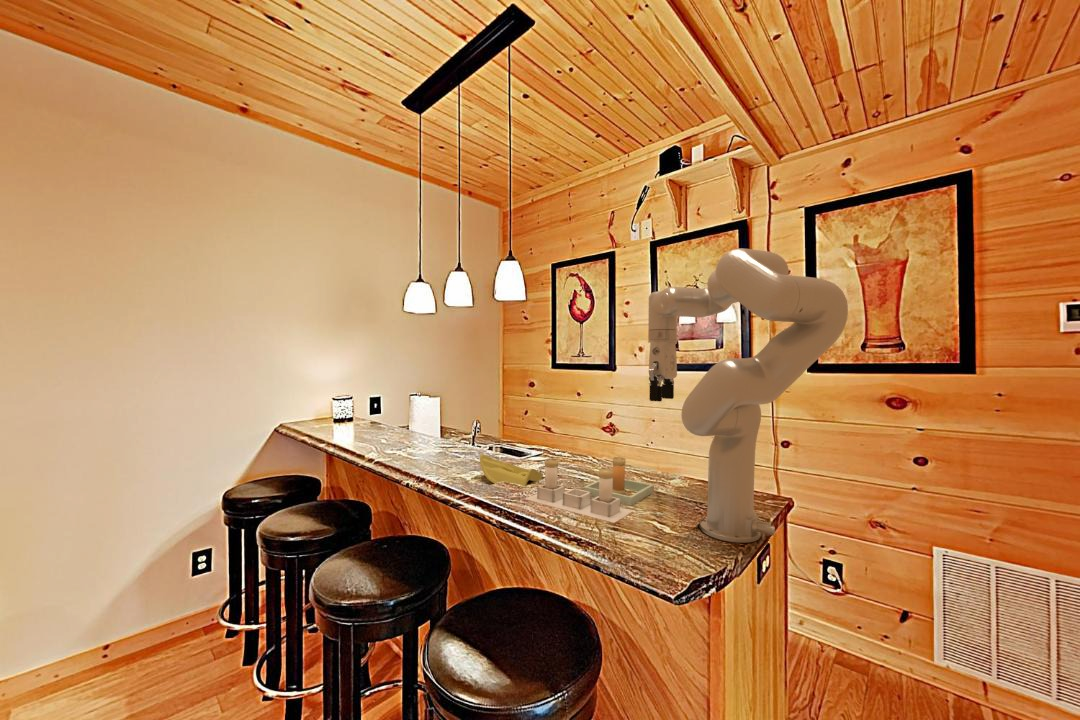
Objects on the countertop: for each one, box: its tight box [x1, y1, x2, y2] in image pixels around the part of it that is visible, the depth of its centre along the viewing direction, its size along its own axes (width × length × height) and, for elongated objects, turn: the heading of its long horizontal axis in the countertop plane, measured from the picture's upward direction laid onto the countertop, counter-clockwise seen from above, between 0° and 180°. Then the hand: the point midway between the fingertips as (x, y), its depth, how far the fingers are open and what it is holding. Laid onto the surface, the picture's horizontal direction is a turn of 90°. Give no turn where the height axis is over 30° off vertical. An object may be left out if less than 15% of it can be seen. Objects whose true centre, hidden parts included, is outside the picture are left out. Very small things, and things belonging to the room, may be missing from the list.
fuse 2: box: [598, 468, 613, 503], centre depth 111 cm, size 3×3×10 cm
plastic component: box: [479, 454, 544, 487], centre depth 140 cm, size 20×7×10 cm
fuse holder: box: [524, 483, 634, 524], centre depth 116 cm, size 10×26×4 cm, turn 53°
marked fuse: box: [612, 456, 626, 495], centre depth 126 cm, size 3×3×10 cm
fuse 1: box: [544, 457, 559, 490], centre depth 121 cm, size 3×3×10 cm
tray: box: [582, 478, 655, 507], centre depth 126 cm, size 14×14×4 cm
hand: (661, 399), depth 126 cm, fingers open, 9 cm apart
